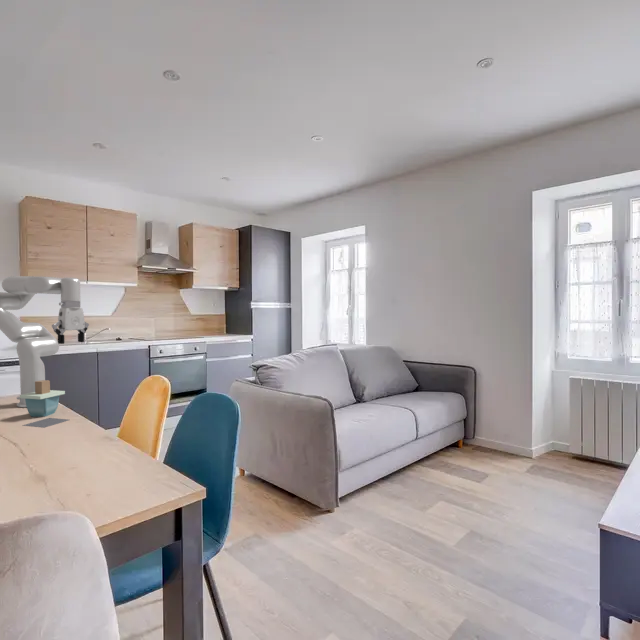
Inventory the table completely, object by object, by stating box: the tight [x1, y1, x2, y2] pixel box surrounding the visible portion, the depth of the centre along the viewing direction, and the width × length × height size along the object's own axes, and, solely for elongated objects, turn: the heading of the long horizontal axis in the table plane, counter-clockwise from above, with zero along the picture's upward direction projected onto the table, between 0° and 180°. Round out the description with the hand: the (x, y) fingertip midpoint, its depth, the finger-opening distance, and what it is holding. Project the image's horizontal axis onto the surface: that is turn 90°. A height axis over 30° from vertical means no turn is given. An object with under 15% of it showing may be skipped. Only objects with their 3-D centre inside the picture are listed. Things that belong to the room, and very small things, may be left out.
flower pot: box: [25, 395, 60, 418], centre depth 167 cm, size 9×9×9 cm
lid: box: [19, 379, 66, 399], centre depth 167 cm, size 11×11×6 cm
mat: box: [22, 417, 69, 429], centre depth 156 cm, size 11×11×1 cm
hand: (71, 342), depth 183 cm, fingers open, 9 cm apart
